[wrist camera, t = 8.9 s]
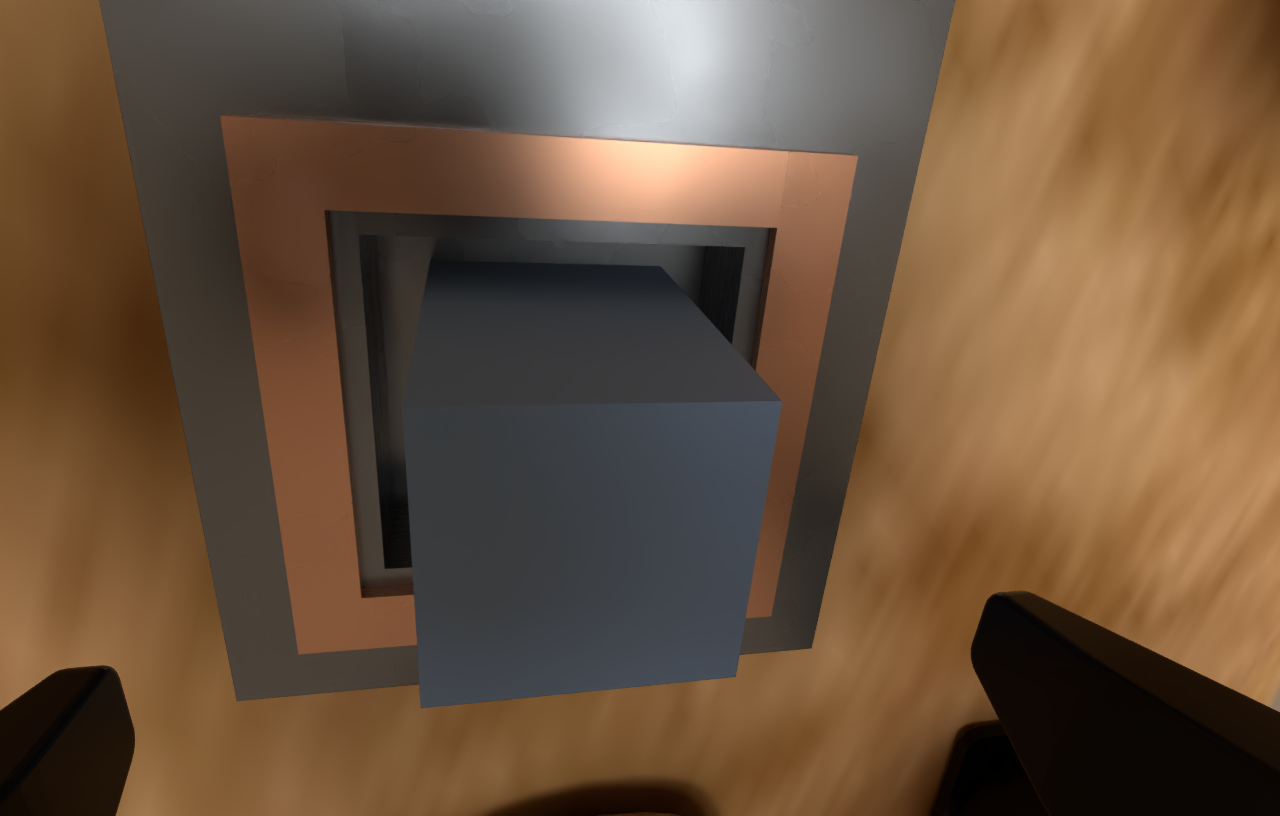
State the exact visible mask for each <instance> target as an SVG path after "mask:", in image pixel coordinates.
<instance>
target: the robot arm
mask: <svg viewBox="0 0 1280 816" xmlns="http://www.w3.org/2000/svg"><path fill="white" fill-rule="evenodd" d="M971 661H972V664H973V668H974V670H975V672H976V674H977V676H978V678H979V680H980V682H981V684H982V686H983V688H984V690H985V692H986V694H987V696H988V698H989V700H990V702H991V704H992V706H993V708H994V710H995V712H996V714H997V716H998V718H999V720H1000V722H1001V725H993V726H984V727H977V728H973V729H971V730H969V731H967V732H966V733H965V734H964V735H962V737H961V739H960V740H959V743H958V746H957V749H956V752H955V755H954V757H953V760H952V763H951V766H950V769H949V772H948V774H947V777H946V780H945V783H944V786H943V789H942V792H941V794H940V797H939V800H938V803H937V806H936V809H935V812H934V814H933V816H1280V712H1278V711H1276V710H1274V709H1272V708H1270V707H1268V706H1266V705H1264V704H1262V703H1260V702H1257V701H1255V700H1253V699H1251V698H1249V697H1247V696H1245V695H1243V694H1241V693H1239V692H1237V691H1235V690H1233V689H1230V688H1228V687H1226V686H1224V685H1222V684H1220V683H1218V682H1216V681H1214V680H1212V679H1210V678H1208V677H1206V676H1203V675H1201V674H1199V673H1197V672H1195V671H1193V670H1191V669H1189V668H1187V667H1185V666H1183V665H1181V664H1179V663H1176V662H1174V661H1172V660H1170V659H1168V658H1166V657H1164V656H1162V655H1160V654H1158V653H1156V652H1154V651H1152V650H1149V649H1147V648H1145V647H1143V646H1141V645H1139V644H1137V643H1135V642H1133V641H1131V640H1129V639H1127V638H1125V637H1122V636H1120V635H1118V634H1116V633H1114V632H1112V631H1110V630H1108V629H1106V628H1104V627H1102V626H1100V625H1098V624H1095V623H1093V622H1091V621H1089V620H1087V619H1085V618H1083V617H1081V616H1079V615H1077V614H1075V613H1073V612H1070V611H1068V610H1066V609H1064V608H1062V607H1060V606H1058V605H1056V604H1054V603H1052V602H1050V601H1048V600H1046V599H1043V598H1041V597H1039V596H1037V595H1035V594H1033V593H1031V592H1027V591H1011V592H999V593H995V594H993V595H991V596H990V597H989V599H988V600H987V601H986V604H985V606H984V609H983V612H982V615H981V618H980V621H979V624H978V627H977V630H976V633H975V636H974V639H973V642H972V645H971ZM134 747H135V732H134V727H133V724H132V720H131V716H130V713H129V709H128V706H127V702H126V699H125V695H124V692H123V688H122V684H121V681H120V678H119V676H118V673H117V672H116V671H115V669H114V668H112V667H109V666H104V665H102V666H89V667H77V668H67V669H62V670H59V671H57V672H55V673H53V674H51V675H50V676H48V677H47V678H45V679H44V680H42V681H41V682H40V683H38V684H37V685H35V686H34V687H32V688H31V689H30V690H28V691H27V692H25V693H24V694H23V695H21V696H20V697H18V698H17V699H16V700H14V701H13V702H11V703H10V704H9V705H7V706H6V707H4V708H3V709H2V710H0V816H116V813H117V809H118V806H119V803H120V799H121V796H122V793H123V789H124V786H125V782H126V779H127V776H128V772H129V769H130V765H131V762H132V758H133V754H134Z"/></svg>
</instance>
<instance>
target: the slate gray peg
mask: <svg viewBox="0 0 1280 816" xmlns="http://www.w3.org/2000/svg"><path fill="white" fill-rule="evenodd" d="M781 406H782V400H781V399H780V398H779V397H778V396H777V395H776V393H775V392H774V391H773V390H772V389H771V388H770V387H769V386H768V385H767V383H766V382H765V381H764V380H763V379H762V378H761V377H760V376H759V375H758V373H757V372H756V371H755V370H754V369H753V368H752V367H751V366H750V365H749V364H748V362H747V361H746V360H745V359H744V358H743V357H742V356H741V355H740V354H739V352H738V351H737V350H736V349H735V348H734V347H733V346H732V345H731V344H730V342H729V341H728V340H727V339H726V338H725V337H724V336H723V335H722V334H721V332H720V331H719V330H718V329H717V328H716V327H715V326H714V325H713V324H712V322H711V321H710V320H709V319H708V318H707V317H706V316H705V315H704V314H703V313H702V311H701V310H700V309H699V308H698V307H697V306H696V305H695V304H694V303H693V301H692V300H691V299H690V298H689V297H688V296H687V295H686V294H685V293H684V291H683V290H682V289H681V288H680V287H679V286H678V285H677V284H676V283H675V281H674V280H673V279H672V278H671V277H670V276H669V275H668V274H667V273H666V271H665V270H664V269H663V268H662V267H661V266H641V265H600V264H559V263H518V262H477V261H437V260H430V264H429V269H428V275H427V280H426V285H425V290H424V296H423V301H422V306H421V311H420V317H419V322H418V327H417V332H416V338H415V343H414V348H413V353H412V359H411V364H410V369H409V374H408V380H407V385H406V390H405V395H404V401H403V406H402V411H403V428H404V444H405V460H406V476H407V492H408V508H409V524H410V540H411V556H412V572H413V588H414V604H415V620H416V636H417V652H418V668H419V684H420V700H421V708H429V707H439V706H449V705H459V704H469V703H479V702H489V701H499V700H509V699H519V698H529V697H539V696H549V695H559V694H569V693H579V692H589V691H599V690H609V689H619V688H629V687H639V686H649V685H659V684H669V683H679V682H689V681H699V680H709V679H719V678H729V677H736V672H737V666H738V660H739V654H740V649H741V643H742V637H743V631H744V625H745V619H746V613H747V607H748V601H749V595H750V589H751V583H752V577H753V572H754V566H755V560H756V554H757V548H758V542H759V536H760V530H761V524H762V518H763V512H764V506H765V501H766V495H767V489H768V483H769V477H770V471H771V465H772V459H773V453H774V447H775V441H776V435H777V429H778V424H779V418H780V412H781Z"/></svg>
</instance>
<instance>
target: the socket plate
mask: <svg viewBox="0 0 1280 816" xmlns="http://www.w3.org/2000/svg"><path fill="white" fill-rule="evenodd" d="M99 1H100V6H101V11H102V16H103V21H104V26H105V31H106V36H107V42H108V47H109V52H110V57H111V62H112V67H113V72H114V77H115V82H116V87H117V93H118V98H119V103H120V108H121V113H122V118H123V123H124V128H125V133H126V138H127V144H128V149H129V154H130V159H131V164H132V169H133V174H134V179H135V184H136V189H137V194H138V200H139V205H140V210H141V215H142V220H143V225H144V230H145V235H146V240H147V245H148V251H149V256H150V261H151V266H152V271H153V276H154V281H155V286H156V291H157V296H158V302H159V307H160V312H161V317H162V322H163V327H164V332H165V337H166V342H167V347H168V352H169V358H170V363H171V368H172V373H173V378H174V383H175V388H176V393H177V398H178V403H179V409H180V414H181V419H182V424H183V429H184V434H185V439H186V444H187V449H188V454H189V460H190V465H191V470H192V475H193V480H194V485H195V490H196V495H197V500H198V505H199V510H200V516H201V521H202V526H203V531H204V536H205V541H206V546H207V551H208V556H209V561H210V567H211V572H212V577H213V582H214V587H215V592H216V597H217V602H218V607H219V612H220V618H221V623H222V628H223V633H224V638H225V643H226V648H227V653H228V658H229V663H230V668H231V674H232V679H233V684H234V689H235V694H236V699H237V701H242V700H253V699H264V698H275V697H286V696H297V695H308V694H319V693H330V692H341V691H351V690H362V689H373V688H384V687H395V686H406V685H417V684H419V668H418V652H417V636H416V620H415V604H414V588H413V572H412V556H411V540H410V524H409V508H408V492H407V476H406V460H405V444H404V428H403V411H402V406H403V401H404V395H405V390H406V385H407V380H408V374H409V369H410V364H411V359H412V353H413V348H414V343H415V338H416V332H417V327H418V322H419V317H420V311H421V306H422V301H423V296H424V290H425V285H426V280H427V275H428V269H429V264H430V260H437V261H477V262H518V263H559V264H600V265H641V266H661V267H662V268H663V269H664V270H665V271H666V273H667V274H668V275H669V276H670V277H671V278H672V279H673V280H674V281H675V283H676V284H677V285H678V286H679V287H680V288H681V289H682V290H683V291H684V293H685V294H686V295H687V296H688V297H689V298H690V299H691V300H692V301H693V303H694V304H695V305H696V306H697V307H698V308H699V309H700V310H701V311H702V313H703V314H704V315H705V316H706V317H707V318H708V319H709V320H710V321H711V322H712V324H713V325H714V326H715V327H716V328H717V329H718V330H719V331H720V332H721V334H722V335H723V336H724V337H725V338H726V339H727V340H728V341H729V342H730V344H731V345H732V346H733V347H734V348H735V349H736V350H737V351H738V352H739V354H740V355H741V356H742V357H743V358H744V359H745V360H746V361H747V362H748V364H749V365H750V366H751V367H752V368H753V369H754V370H755V371H756V372H757V373H758V375H759V376H760V377H761V378H762V379H763V380H764V381H765V382H766V383H767V385H768V386H769V387H770V388H771V389H772V390H773V391H774V392H775V393H776V395H777V396H778V397H779V398H780V399H781V400H782V406H781V412H780V418H779V424H778V429H777V435H776V441H775V447H774V453H773V459H772V465H771V471H770V477H769V483H768V489H767V495H766V501H765V506H764V512H763V518H762V524H761V530H760V536H759V542H758V548H757V554H756V560H755V566H754V572H753V577H752V583H751V589H750V595H749V601H748V607H747V613H746V619H745V625H744V631H743V637H742V643H741V649H740V654H739V655H744V654H755V653H766V652H777V651H788V650H798V649H809V648H812V643H813V639H814V634H815V630H816V625H817V621H818V616H819V612H820V607H821V603H822V598H823V594H824V589H825V585H826V580H827V576H828V571H829V567H830V562H831V558H832V553H833V549H834V544H835V540H836V535H837V531H838V526H839V522H840V517H841V513H842V508H843V504H844V499H845V495H846V490H847V486H848V481H849V477H850V472H851V468H852V463H853V459H854V454H855V450H856V445H857V441H858V436H859V432H860V427H861V423H862V418H863V414H864V409H865V405H866V400H867V396H868V391H869V387H870V382H871V378H872V373H873V369H874V364H875V360H876V355H877V351H878V346H879V341H880V337H881V332H882V328H883V323H884V319H885V314H886V310H887V305H888V301H889V296H890V292H891V287H892V283H893V278H894V274H895V269H896V265H897V260H898V256H899V251H900V247H901V242H902V238H903V233H904V229H905V224H906V220H907V215H908V211H909V206H910V202H911V197H912V193H913V188H914V184H915V179H916V175H917V170H918V166H919V161H920V157H921V152H922V148H923V143H924V139H925V134H926V130H927V125H928V121H929V116H930V112H931V107H932V103H933V98H934V94H935V89H936V85H937V80H938V76H939V71H940V67H941V62H942V58H943V53H944V49H945V44H946V40H947V35H948V31H949V26H950V22H951V17H952V13H953V8H954V4H955V0H99Z"/></svg>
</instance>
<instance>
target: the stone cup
mask: <svg viewBox="0 0 1280 816" xmlns="http://www.w3.org/2000/svg"><path fill="white" fill-rule="evenodd" d="M599 816H680V815H675V814H670V813H651V812H641V813H626V814H611V815H599Z"/></svg>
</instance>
